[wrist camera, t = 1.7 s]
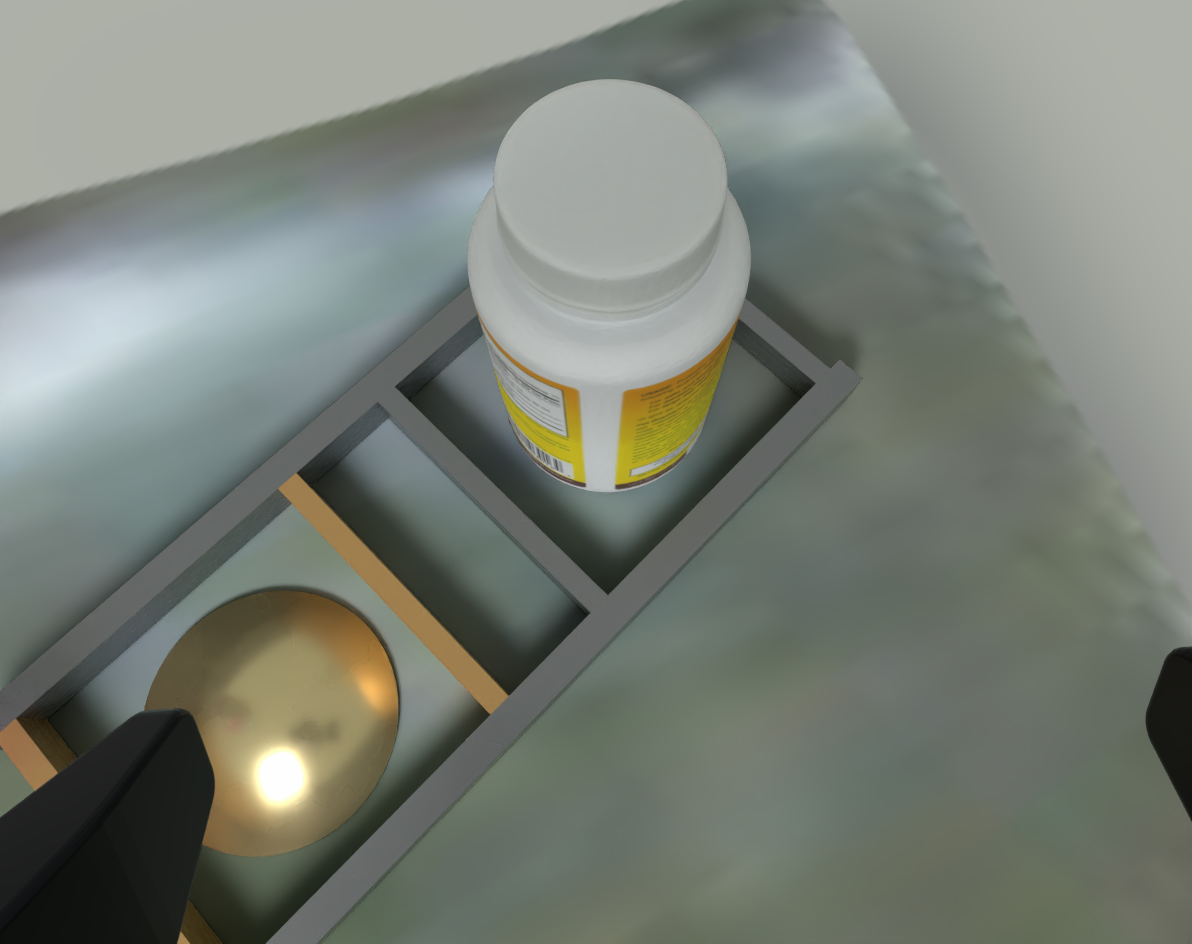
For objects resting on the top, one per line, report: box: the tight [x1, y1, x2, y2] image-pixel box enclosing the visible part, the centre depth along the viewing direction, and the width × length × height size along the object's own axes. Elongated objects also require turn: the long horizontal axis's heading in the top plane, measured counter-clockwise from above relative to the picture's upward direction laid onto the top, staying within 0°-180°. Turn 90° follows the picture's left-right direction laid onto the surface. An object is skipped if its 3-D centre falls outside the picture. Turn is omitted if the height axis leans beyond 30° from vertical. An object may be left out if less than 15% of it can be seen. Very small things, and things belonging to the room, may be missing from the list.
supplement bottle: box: [467, 79, 751, 492], centre depth 19 cm, size 6×6×10 cm
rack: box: [0, 286, 863, 944], centre depth 22 cm, size 22×10×1 cm, turn 135°
